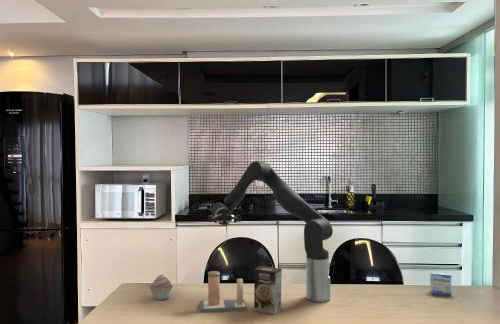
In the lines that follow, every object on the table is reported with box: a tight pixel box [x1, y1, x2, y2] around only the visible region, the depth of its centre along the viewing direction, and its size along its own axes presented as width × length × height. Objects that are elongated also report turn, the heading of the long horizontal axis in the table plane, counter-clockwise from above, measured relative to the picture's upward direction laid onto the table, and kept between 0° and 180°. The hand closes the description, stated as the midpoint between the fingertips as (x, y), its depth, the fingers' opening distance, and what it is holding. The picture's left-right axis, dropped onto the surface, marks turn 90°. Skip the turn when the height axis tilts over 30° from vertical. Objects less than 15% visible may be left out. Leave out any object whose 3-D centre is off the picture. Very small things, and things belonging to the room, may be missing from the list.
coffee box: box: [253, 265, 283, 315], centre depth 153 cm, size 9×6×16 cm
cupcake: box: [149, 274, 173, 301], centre depth 167 cm, size 9×9×10 cm
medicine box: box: [429, 271, 452, 296], centre depth 175 cm, size 8×4×9 cm, turn 73°
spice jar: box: [207, 270, 221, 306], centre depth 156 cm, size 5×5×12 cm
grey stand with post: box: [199, 278, 248, 313], centre depth 157 cm, size 18×9×11 cm, turn 97°
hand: (225, 220), depth 173 cm, fingers open, 8 cm apart
